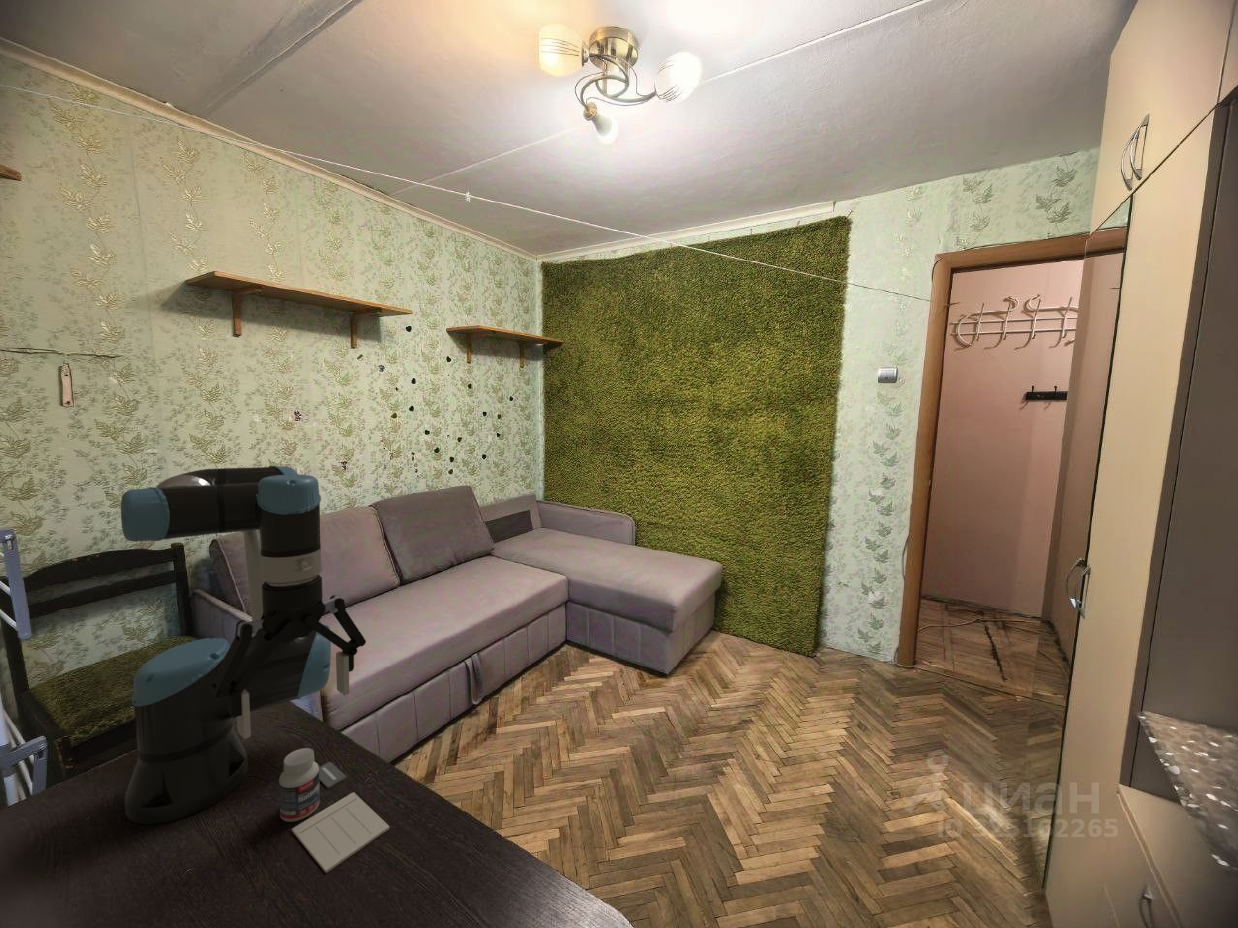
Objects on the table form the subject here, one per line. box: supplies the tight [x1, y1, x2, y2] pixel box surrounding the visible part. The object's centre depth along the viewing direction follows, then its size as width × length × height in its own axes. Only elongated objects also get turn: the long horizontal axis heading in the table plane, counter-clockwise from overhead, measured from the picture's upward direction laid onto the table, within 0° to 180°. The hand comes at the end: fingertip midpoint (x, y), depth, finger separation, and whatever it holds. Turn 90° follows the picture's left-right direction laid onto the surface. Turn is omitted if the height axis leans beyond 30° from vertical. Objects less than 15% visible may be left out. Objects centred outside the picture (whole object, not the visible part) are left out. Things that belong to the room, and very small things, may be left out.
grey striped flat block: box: [319, 761, 348, 789], centre depth 84 cm, size 6×3×1 cm, turn 54°
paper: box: [291, 792, 390, 874], centre depth 73 cm, size 11×9×1 cm
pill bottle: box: [278, 747, 321, 823], centre depth 76 cm, size 5×5×9 cm
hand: (297, 711), depth 75 cm, fingers open, 13 cm apart
